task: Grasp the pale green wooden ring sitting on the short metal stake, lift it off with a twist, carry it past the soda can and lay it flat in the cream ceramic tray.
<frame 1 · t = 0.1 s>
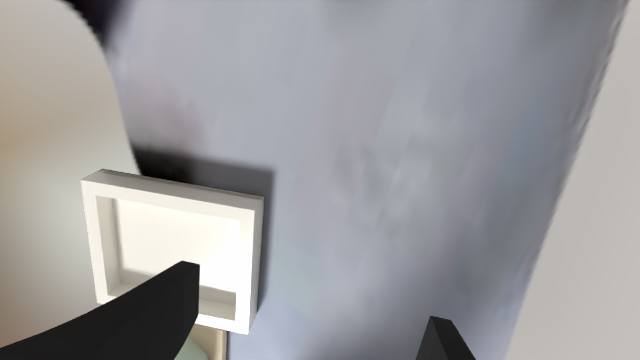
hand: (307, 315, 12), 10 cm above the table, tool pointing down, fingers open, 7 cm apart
ring: (173, 359, 27), point 1 cm above the table, touching stake
stake: (179, 350, 27), on the table
tray: (183, 245, 24), on the table
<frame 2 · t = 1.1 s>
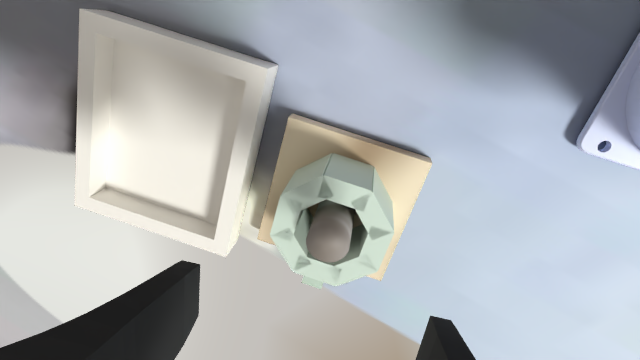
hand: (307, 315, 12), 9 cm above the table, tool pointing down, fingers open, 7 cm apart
ring: (337, 204, 19), point 1 cm above the table, touching stake
stake: (339, 197, 20), on the table
tray: (178, 135, 20), on the table
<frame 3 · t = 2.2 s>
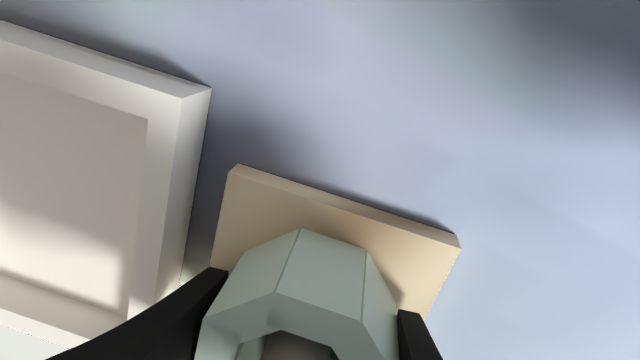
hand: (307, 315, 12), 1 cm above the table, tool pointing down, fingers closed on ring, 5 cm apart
ring: (311, 302, 12), point 1 cm above the table, touching gripper, stake
stake: (315, 286, 13), on the table
tray: (70, 191, 13), on the table
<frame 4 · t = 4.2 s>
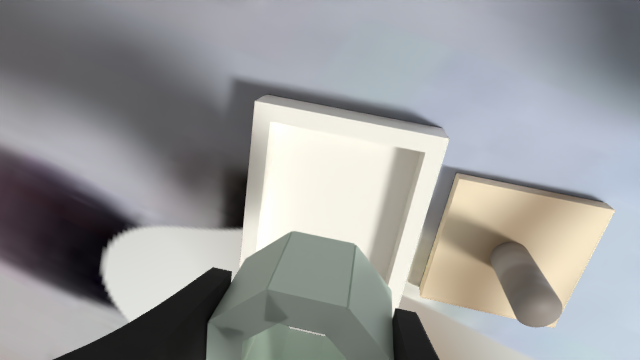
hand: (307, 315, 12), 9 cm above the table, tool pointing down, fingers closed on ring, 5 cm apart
ring: (312, 299, 13), point 8 cm above the table, touching gripper
stake: (504, 249, 20), on the table
tray: (335, 203, 20), on the table
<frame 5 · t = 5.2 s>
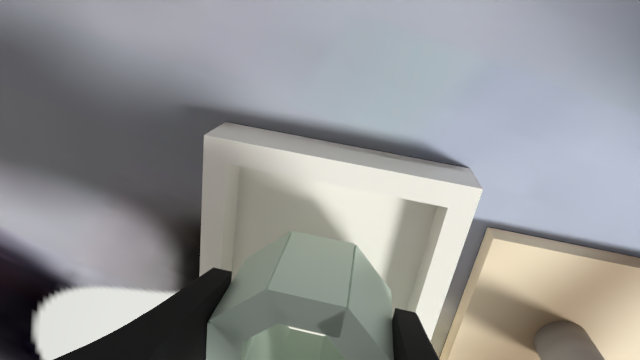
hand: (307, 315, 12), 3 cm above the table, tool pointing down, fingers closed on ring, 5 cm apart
ring: (312, 299, 13), point 2 cm above the table, touching gripper
stake: (551, 325, 15), on the table
tray: (322, 264, 15), on the table
when the fingers open (2 cm above the table, at t = 6.0 s): ring stays where it is, resting on tray.
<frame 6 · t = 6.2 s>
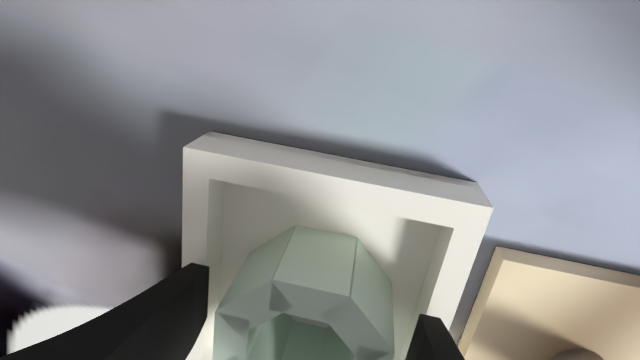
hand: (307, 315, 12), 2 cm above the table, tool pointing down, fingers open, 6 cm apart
ring: (315, 291, 13), resting on tray
stake: (565, 351, 13), on the table
tray: (316, 284, 14), on the table
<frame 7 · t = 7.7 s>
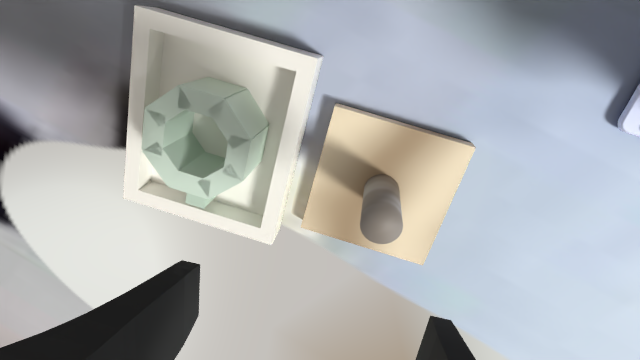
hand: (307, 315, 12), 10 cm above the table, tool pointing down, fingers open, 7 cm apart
ring: (220, 129, 20), resting on tray
stake: (381, 184, 20), on the table
tray: (223, 127, 21), on the table
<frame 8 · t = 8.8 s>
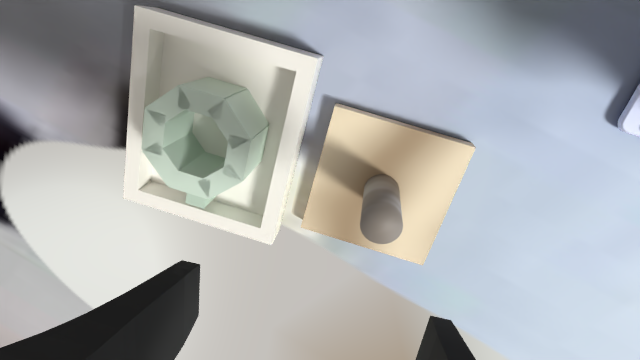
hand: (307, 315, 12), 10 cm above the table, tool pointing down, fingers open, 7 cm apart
ring: (220, 129, 20), resting on tray
stake: (381, 184, 20), on the table
tray: (223, 127, 21), on the table
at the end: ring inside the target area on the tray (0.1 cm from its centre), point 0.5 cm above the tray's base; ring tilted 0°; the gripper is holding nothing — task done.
